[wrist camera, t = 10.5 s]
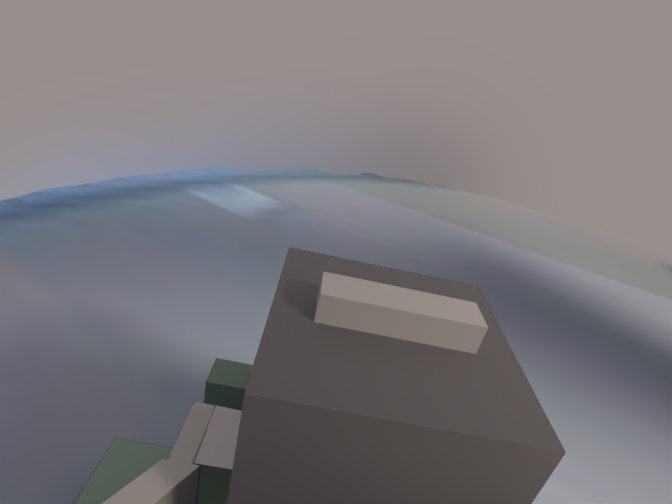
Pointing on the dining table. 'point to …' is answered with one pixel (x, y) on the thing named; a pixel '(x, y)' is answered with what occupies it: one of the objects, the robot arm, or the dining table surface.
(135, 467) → the header board
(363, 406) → the plug block
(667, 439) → the dining table surface
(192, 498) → the robot arm
